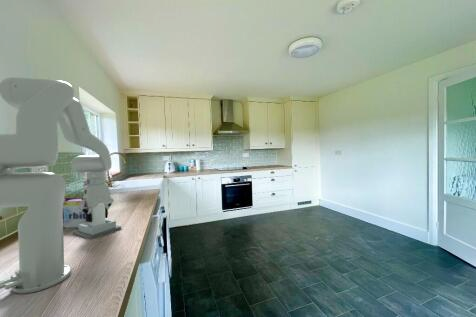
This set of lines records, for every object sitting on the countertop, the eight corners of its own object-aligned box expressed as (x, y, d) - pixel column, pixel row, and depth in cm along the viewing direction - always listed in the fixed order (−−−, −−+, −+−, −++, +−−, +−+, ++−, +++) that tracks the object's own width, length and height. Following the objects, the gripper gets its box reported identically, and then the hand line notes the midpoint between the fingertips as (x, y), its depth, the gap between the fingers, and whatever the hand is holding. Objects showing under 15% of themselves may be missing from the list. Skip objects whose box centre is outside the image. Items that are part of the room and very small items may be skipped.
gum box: (100, 222, 113) (100, 197, 112) (90, 227, 105) (89, 200, 104) (56, 222, 113) (56, 197, 112) (42, 228, 105) (42, 201, 105)
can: (97, 228, 95) (96, 202, 95) (85, 227, 97) (84, 201, 96) (108, 224, 102) (108, 199, 101) (97, 223, 103) (96, 198, 103)
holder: (90, 239, 90) (90, 230, 90) (72, 234, 96) (72, 225, 96) (121, 228, 103) (121, 220, 102) (103, 224, 109) (103, 216, 109)
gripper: (80, 184, 89) (81, 226, 90) (119, 180, 105) (119, 215, 105) (70, 183, 92) (71, 224, 93) (109, 179, 108) (110, 214, 108)
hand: (97, 219), depth 99 cm, fingers closed on can, 6 cm apart
